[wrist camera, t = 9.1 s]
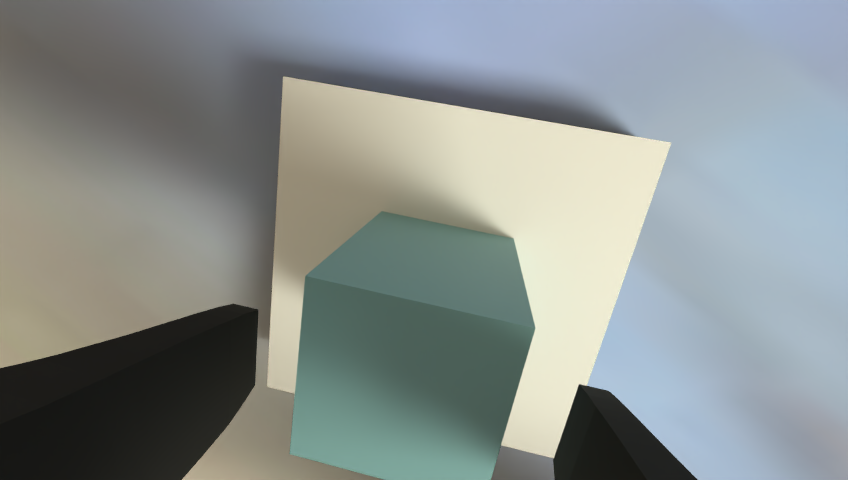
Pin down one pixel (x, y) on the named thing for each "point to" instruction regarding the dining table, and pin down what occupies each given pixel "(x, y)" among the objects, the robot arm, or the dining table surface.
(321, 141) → the plinth
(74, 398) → the robot arm
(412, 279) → the teal block
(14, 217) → the dining table surface
